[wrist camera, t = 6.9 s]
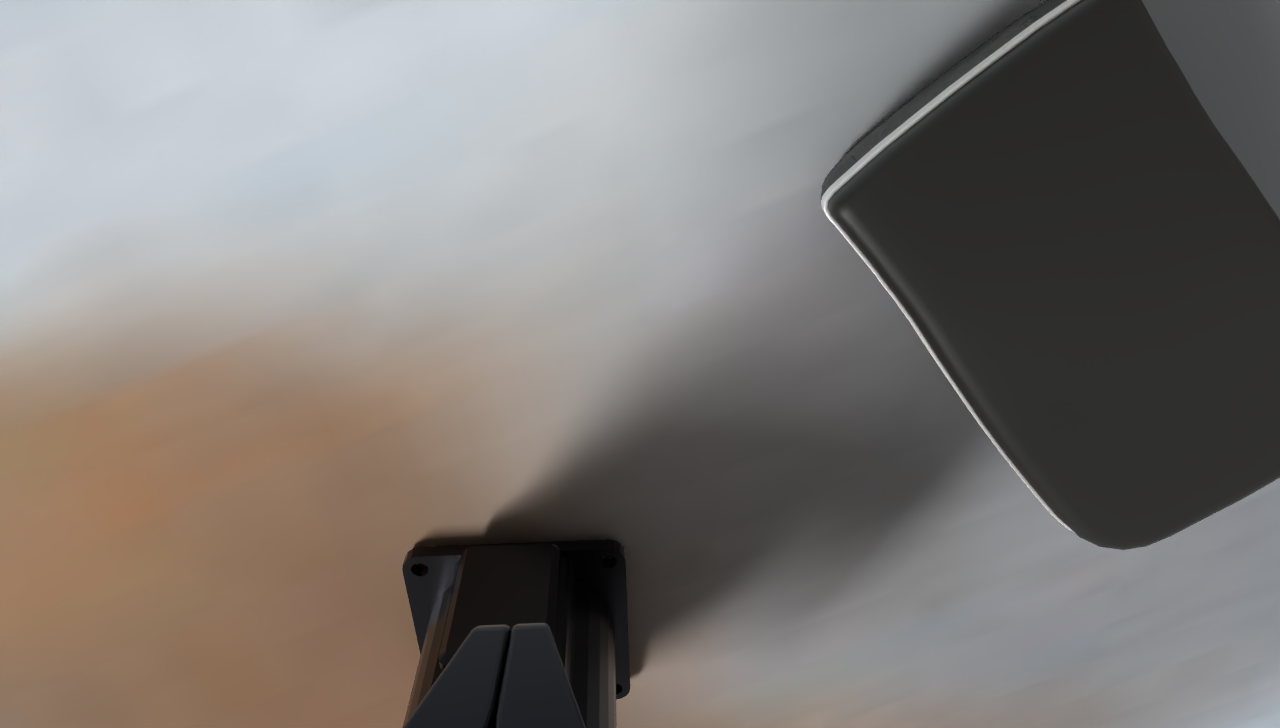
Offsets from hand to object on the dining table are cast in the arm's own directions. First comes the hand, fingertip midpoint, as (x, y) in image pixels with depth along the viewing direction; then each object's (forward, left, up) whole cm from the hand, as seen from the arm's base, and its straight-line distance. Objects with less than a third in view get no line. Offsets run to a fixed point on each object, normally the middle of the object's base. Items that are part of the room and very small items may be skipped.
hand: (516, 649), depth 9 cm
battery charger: (+4, -8, -11) cm, 14 cm away
